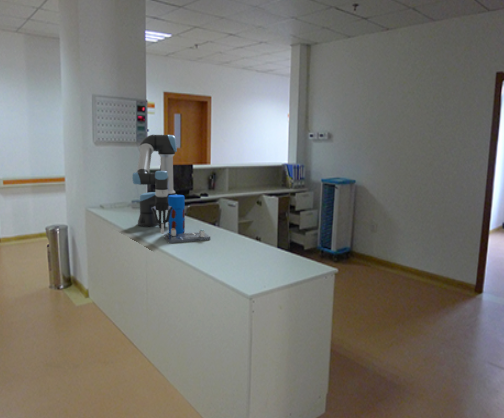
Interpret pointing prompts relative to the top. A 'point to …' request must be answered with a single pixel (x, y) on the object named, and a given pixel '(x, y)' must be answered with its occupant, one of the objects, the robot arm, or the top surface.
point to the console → (186, 237)
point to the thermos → (177, 213)
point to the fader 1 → (173, 232)
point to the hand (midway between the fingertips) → (162, 233)
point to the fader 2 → (201, 233)
